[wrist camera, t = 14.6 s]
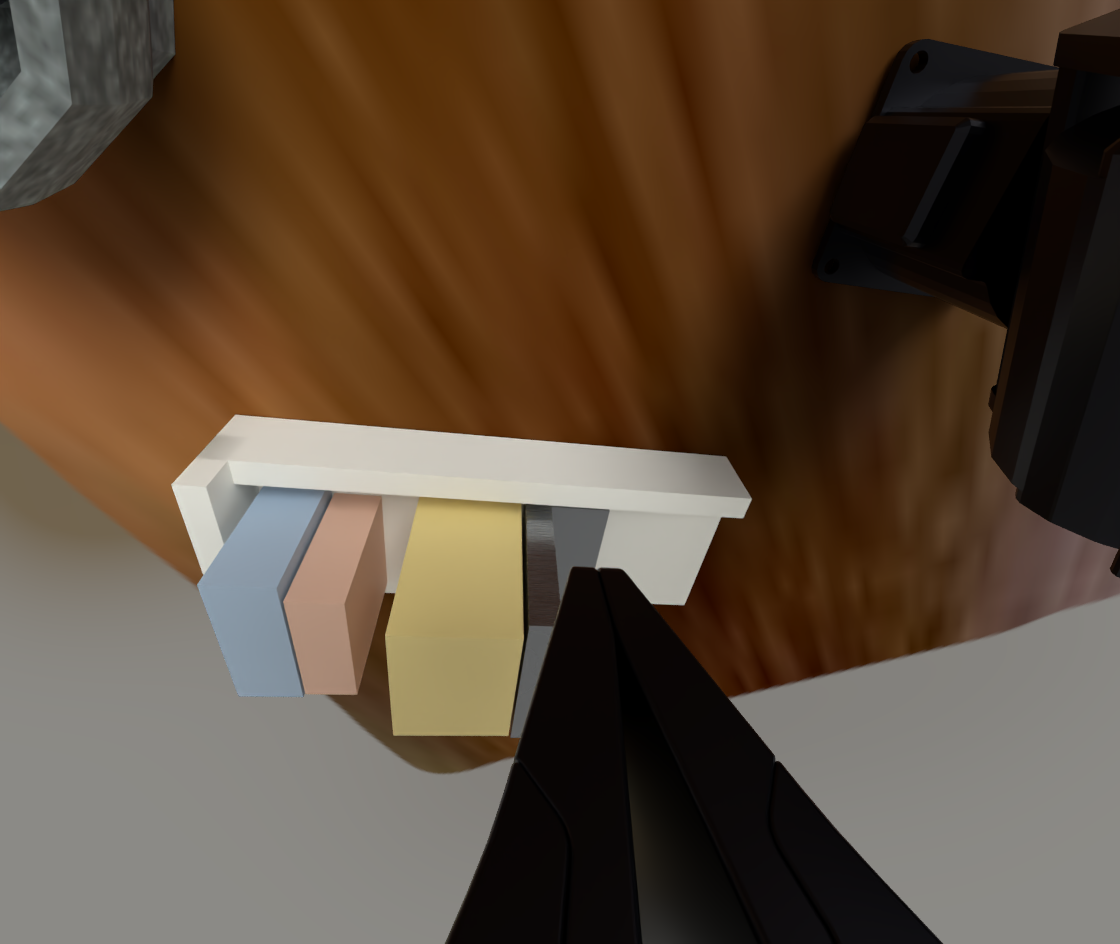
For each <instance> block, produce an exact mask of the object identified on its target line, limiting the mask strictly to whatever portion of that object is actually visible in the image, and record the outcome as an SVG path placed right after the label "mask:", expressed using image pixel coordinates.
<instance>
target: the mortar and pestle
mask: <svg viewBox="0 0 1120 944" xmlns="http://www.w3.org/2000/svg"><path fill="white" fill-rule="evenodd" d="M174 55H175V36H174V9H173V0H0V211H4V210H9V209H14V208H19V207H24V206H29V205H33V204H35V203H37V202H39V201H41V200H43V199H45V198H47V197H49V196H51V195H53V194H55V193H57V192H59V191H61V190H63V189H65V188H67V187H68V186H70V185H72V184H74V183H75V182H76V181H77V180H78V179H79V178H80V177H81V176H82V175H83V174H84V172H85V171H86V170H87V169H88V168H89V167H90V166H91V165H92V164H93V162H94V161H95V160H96V159H97V158H98V157H99V156H100V155H101V153H102V152H103V151H104V150H105V149H106V148H107V147H108V146H109V145H110V143H111V142H112V141H113V140H114V139H115V138H116V137H117V136H118V135H119V133H120V132H121V131H122V130H123V129H124V128H125V127H126V126H127V125H128V123H129V122H130V121H131V120H132V119H133V118H134V117H135V116H136V115H137V113H138V112H139V111H140V110H141V109H142V108H143V107H144V106H145V104H146V103H147V102H148V101H149V100H150V99H151V98H152V96H153V79H154V78H155V77H156V75H157V74H158V73H159V72H160V71H161V70H162V69H163V68H164V66H165V65H166V64H167V63H168V62H169V61H170V60H171V59H172V57H173V56H174Z"/></svg>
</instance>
